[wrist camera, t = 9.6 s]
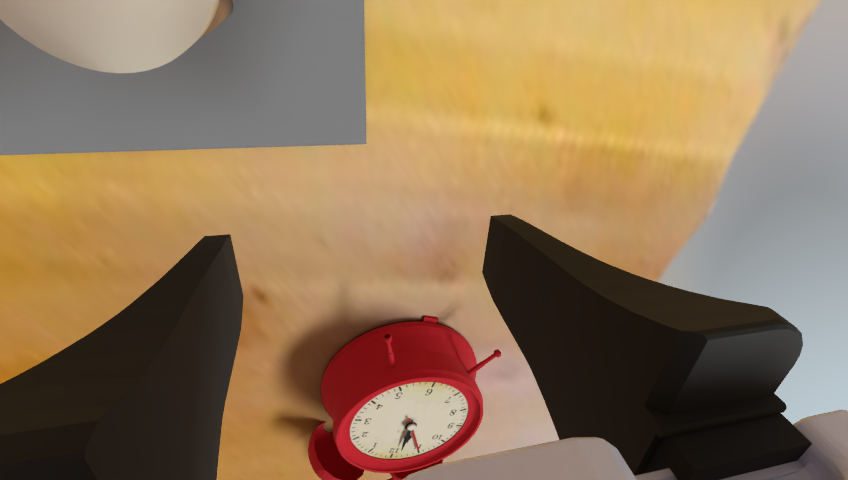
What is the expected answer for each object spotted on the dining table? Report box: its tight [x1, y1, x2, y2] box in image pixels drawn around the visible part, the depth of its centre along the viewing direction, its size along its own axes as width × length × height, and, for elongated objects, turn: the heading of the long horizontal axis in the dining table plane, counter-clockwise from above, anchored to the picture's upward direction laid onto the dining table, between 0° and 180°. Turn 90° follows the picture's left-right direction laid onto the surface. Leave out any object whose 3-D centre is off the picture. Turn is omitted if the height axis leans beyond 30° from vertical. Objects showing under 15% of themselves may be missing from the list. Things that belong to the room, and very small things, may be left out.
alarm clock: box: [308, 316, 501, 480], centre depth 29 cm, size 10×6×15 cm
